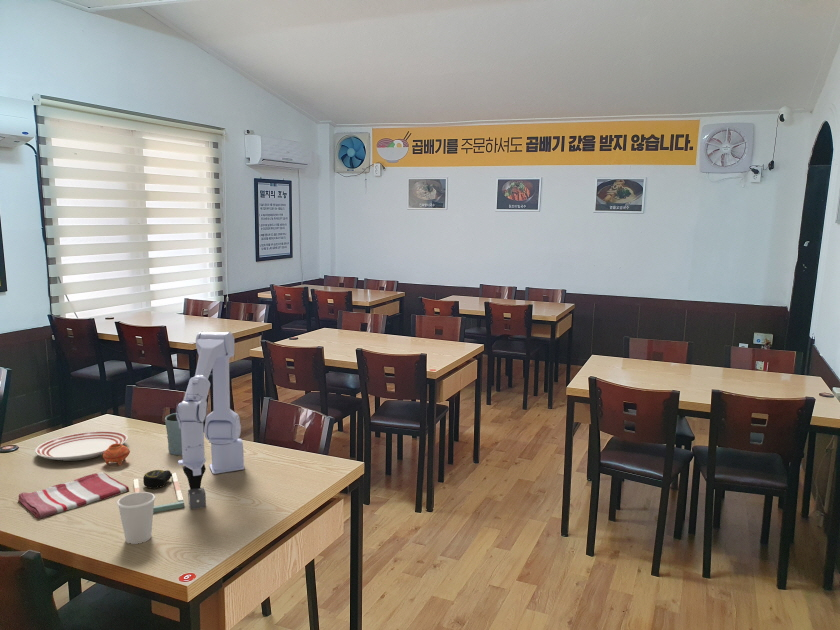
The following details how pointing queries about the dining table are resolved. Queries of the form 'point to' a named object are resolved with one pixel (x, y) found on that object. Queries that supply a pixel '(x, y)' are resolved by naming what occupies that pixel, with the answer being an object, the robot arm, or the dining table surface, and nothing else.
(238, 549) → the dining table surface
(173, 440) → the teal cylindrical container
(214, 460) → the robot arm
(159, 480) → the tape measure
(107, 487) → the dish towel
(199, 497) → the die
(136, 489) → the track
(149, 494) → the dixie cup
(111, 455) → the pot
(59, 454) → the dinner plate
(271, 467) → the dining table surface
